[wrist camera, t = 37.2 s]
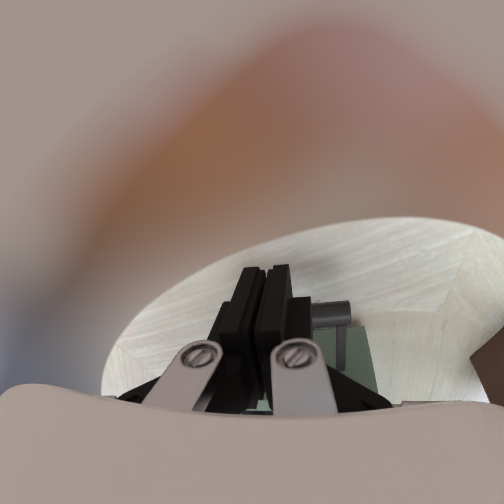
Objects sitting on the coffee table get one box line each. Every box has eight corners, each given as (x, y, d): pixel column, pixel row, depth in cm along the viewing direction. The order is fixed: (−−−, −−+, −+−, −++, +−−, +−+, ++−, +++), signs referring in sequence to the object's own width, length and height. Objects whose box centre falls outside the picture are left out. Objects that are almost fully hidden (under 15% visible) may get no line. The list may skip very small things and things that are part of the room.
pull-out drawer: (217, 276, 22) (186, 338, 16) (366, 264, 20) (389, 327, 13) (255, 420, 29) (245, 474, 22) (355, 416, 26) (358, 472, 20)
